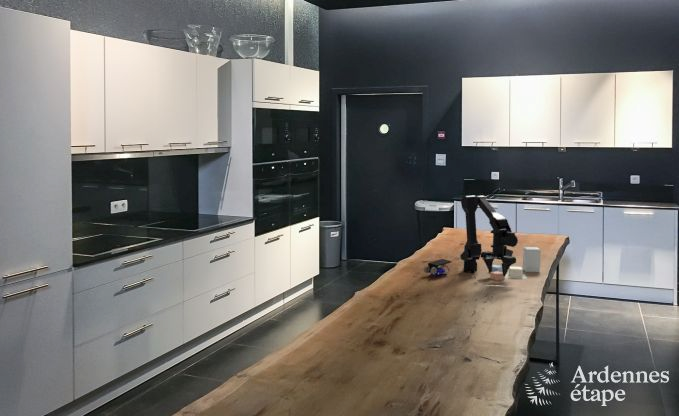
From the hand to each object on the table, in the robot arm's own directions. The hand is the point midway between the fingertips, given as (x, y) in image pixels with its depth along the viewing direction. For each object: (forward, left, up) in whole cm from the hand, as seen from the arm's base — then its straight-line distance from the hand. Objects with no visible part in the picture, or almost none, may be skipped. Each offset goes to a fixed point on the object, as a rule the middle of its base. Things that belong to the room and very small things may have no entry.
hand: (497, 274), depth 331 cm
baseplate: (+9, +7, -3) cm, 12 cm away
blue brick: (+1, +15, -3) cm, 15 cm away
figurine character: (-29, +6, -3) cm, 30 cm away
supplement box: (+20, +22, -3) cm, 30 cm away
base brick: (+10, +8, -2) cm, 13 cm away
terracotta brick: (0, 0, -3) cm, 3 cm away
